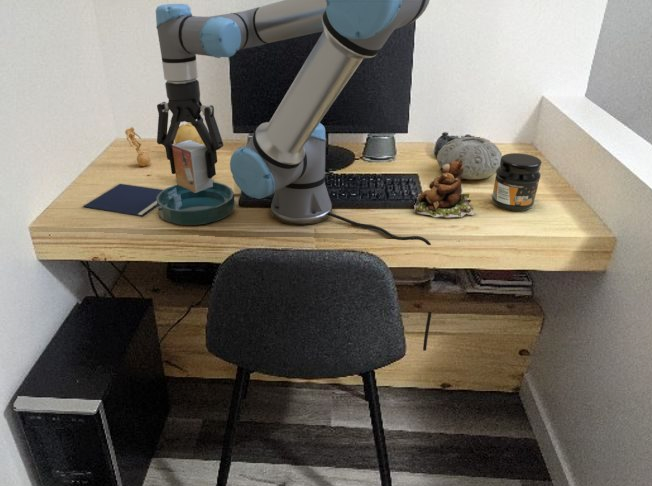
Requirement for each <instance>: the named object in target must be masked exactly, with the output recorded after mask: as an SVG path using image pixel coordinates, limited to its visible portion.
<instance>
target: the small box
mask: <svg viewBox="0 0 652 486" xmlns="http://www.w3.org/2000/svg"><path fill="white" fill-rule="evenodd" d="M172 151H173V159H174V166H175V174H174V175H175V181H176V184H177V185H179V186H182V187H184V188H186V189H188V190H190V191H192V192H194V193H197V192H200V191H202V190H205V189H208V188H211V187H213V182H214V181H213V177H212V178H208V174H207V165H206V156H205V152H206V151H207V148H206V146H205V145H202V144H199V143H196V142H194V141H192V140H187V141H184V142H180V143H177V144H176V143H174V144H172Z"/></svg>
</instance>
